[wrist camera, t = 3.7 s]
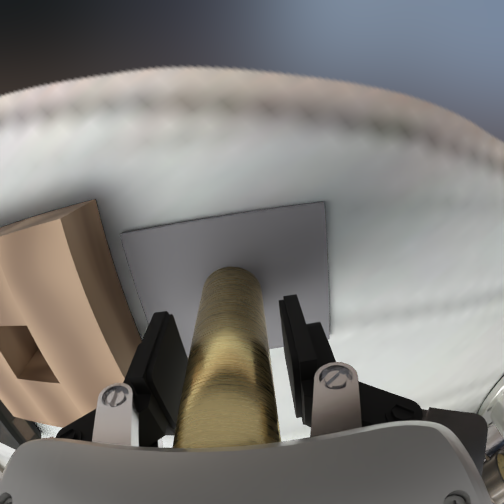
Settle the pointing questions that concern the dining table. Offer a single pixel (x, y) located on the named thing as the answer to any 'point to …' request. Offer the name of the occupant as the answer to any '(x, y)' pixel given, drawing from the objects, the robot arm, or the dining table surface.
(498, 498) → the alarm clock
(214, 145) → the dining table surface
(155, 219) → the dining table surface
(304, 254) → the mat
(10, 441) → the portable cd player
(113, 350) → the block
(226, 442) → the pin
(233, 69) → the dining table surface
